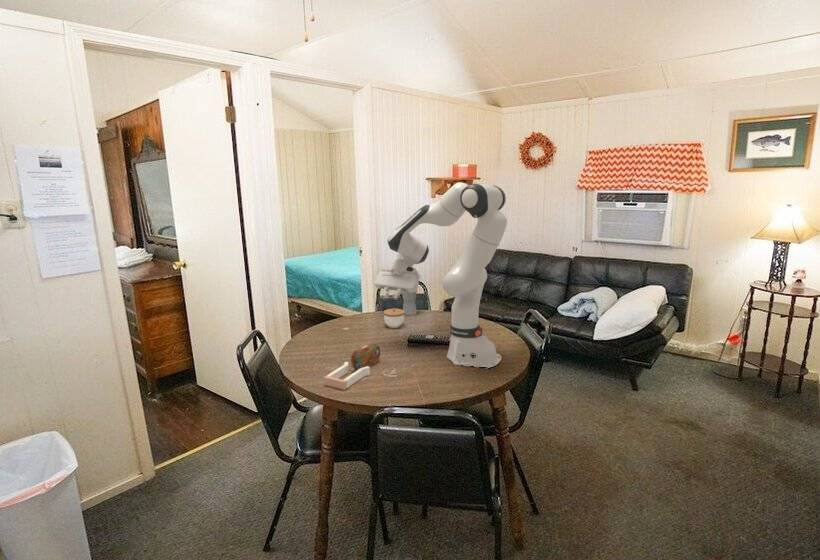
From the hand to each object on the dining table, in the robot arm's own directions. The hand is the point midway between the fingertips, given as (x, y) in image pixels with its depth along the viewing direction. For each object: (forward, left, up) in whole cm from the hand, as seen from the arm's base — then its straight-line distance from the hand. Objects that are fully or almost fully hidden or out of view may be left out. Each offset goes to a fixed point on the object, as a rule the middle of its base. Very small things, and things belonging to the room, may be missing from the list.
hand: (390, 297), depth 189 cm
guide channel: (0, +34, -23) cm, 42 cm away
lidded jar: (+14, -28, -24) cm, 39 cm away
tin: (0, +20, -24) cm, 31 cm away
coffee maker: (+18, -51, -24) cm, 59 cm away
